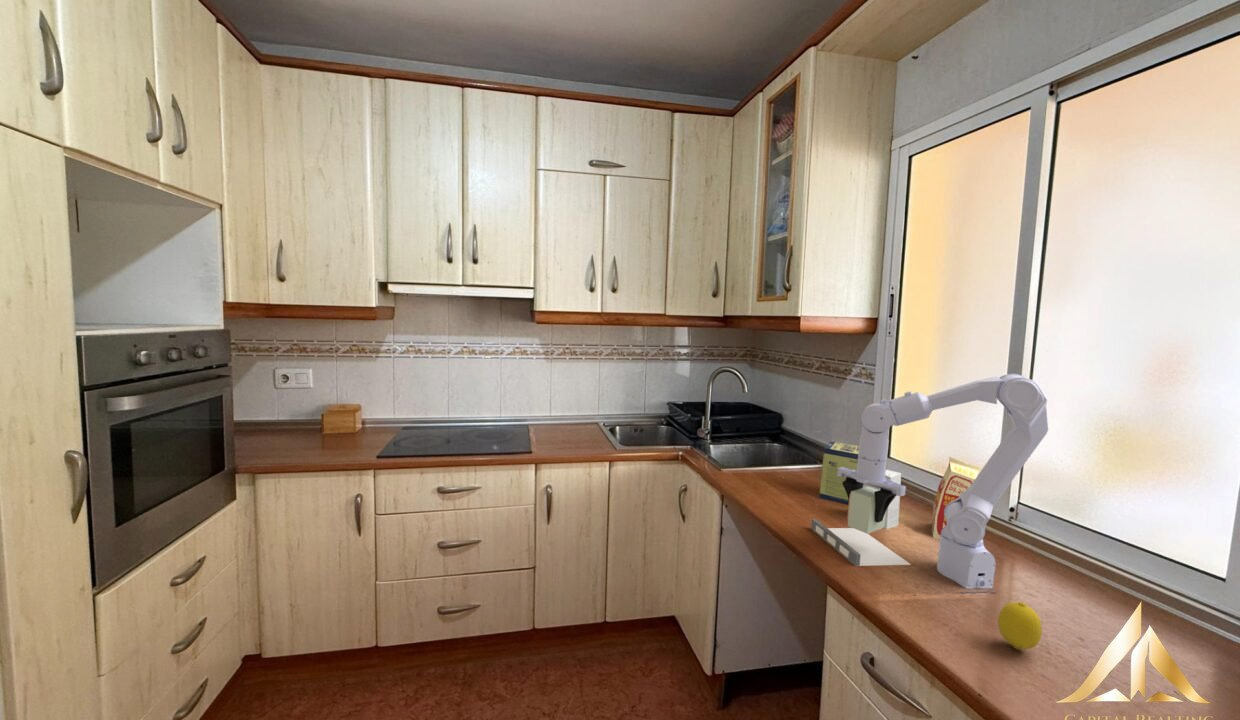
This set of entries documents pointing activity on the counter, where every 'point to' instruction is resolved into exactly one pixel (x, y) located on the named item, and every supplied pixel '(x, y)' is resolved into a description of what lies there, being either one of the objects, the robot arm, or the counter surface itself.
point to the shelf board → (857, 546)
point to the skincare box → (893, 508)
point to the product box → (863, 510)
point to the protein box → (832, 460)
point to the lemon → (1020, 625)
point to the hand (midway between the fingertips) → (866, 516)
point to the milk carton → (951, 490)
